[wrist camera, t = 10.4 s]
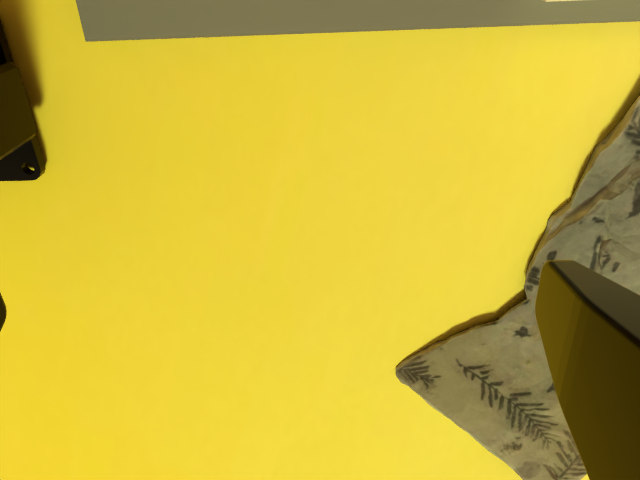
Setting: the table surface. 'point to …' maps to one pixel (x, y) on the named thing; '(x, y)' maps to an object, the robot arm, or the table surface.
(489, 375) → the fossil rock
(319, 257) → the table surface
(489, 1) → the building board
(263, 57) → the table surface
